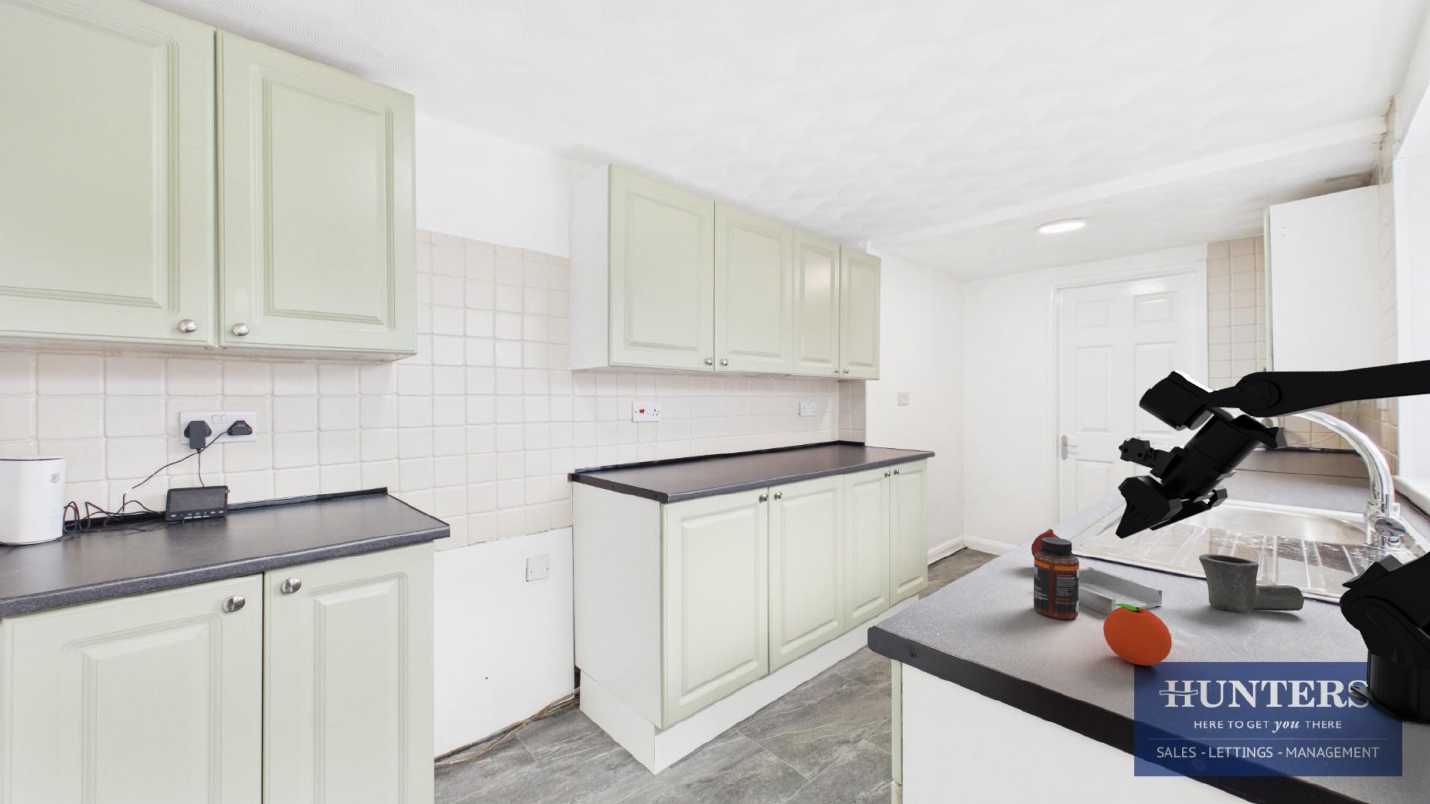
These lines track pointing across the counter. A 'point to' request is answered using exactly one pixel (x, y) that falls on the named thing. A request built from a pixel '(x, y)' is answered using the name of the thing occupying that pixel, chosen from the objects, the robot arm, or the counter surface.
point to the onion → (1038, 541)
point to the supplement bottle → (1056, 579)
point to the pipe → (1245, 587)
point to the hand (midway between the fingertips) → (1134, 532)
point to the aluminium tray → (1114, 591)
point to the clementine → (1137, 635)
